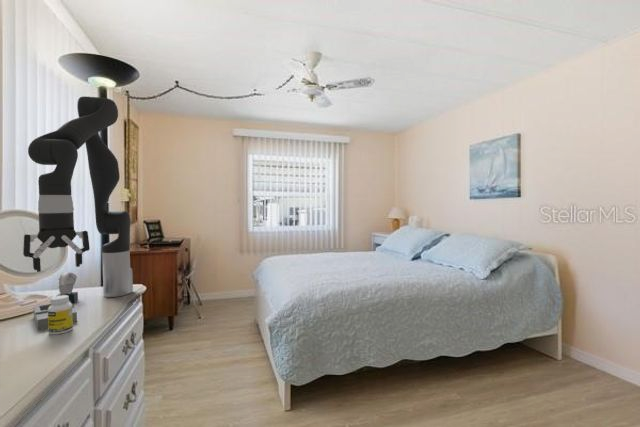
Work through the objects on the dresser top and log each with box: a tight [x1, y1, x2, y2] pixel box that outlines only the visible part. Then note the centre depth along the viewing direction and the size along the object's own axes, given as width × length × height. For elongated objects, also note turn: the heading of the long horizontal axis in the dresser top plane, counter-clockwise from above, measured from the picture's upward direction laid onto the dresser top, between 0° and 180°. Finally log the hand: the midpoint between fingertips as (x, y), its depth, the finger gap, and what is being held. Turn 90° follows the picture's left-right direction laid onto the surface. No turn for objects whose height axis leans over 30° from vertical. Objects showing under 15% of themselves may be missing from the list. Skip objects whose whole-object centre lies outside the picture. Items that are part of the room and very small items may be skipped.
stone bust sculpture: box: [54, 271, 79, 305], centre depth 117 cm, size 6×8×11 cm
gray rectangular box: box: [33, 301, 78, 331], centre depth 102 cm, size 21×9×4 cm, turn 45°
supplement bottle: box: [47, 295, 74, 335], centre depth 90 cm, size 5×5×10 cm
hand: (58, 268), depth 90 cm, fingers open, 8 cm apart
